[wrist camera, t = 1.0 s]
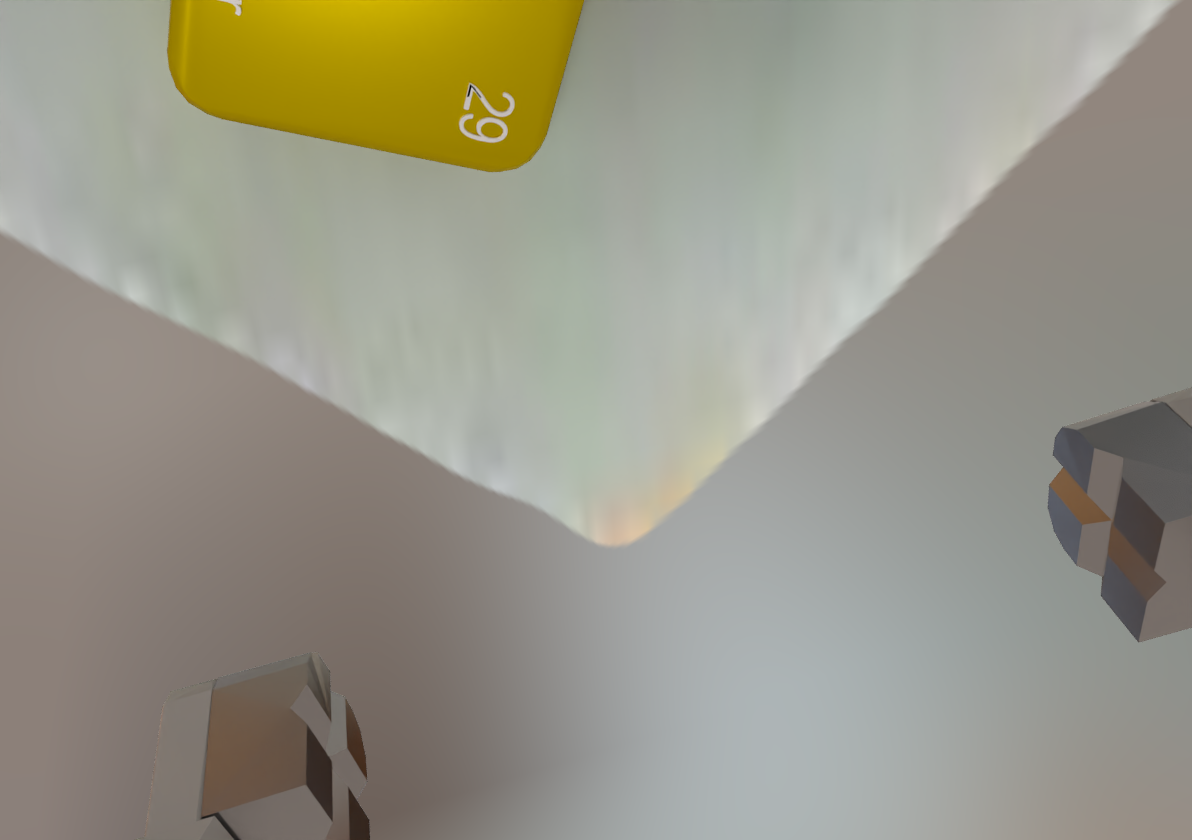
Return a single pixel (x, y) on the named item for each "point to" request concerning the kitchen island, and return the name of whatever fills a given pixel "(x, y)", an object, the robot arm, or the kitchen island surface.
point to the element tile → (381, 71)
